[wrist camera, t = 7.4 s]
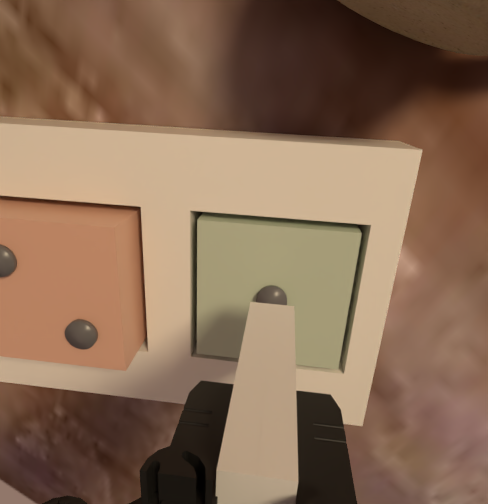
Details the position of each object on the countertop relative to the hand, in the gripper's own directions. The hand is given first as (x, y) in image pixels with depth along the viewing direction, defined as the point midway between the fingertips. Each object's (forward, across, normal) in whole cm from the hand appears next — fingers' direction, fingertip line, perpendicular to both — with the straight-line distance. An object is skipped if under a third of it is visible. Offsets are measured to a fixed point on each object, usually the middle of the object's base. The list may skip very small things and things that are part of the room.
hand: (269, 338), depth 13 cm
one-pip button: (+5, 0, 0) cm, 5 cm away
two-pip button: (+3, +8, 0) cm, 9 cm away
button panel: (+5, +8, 0) cm, 10 cm away
